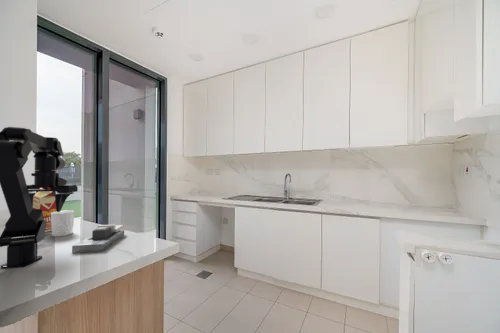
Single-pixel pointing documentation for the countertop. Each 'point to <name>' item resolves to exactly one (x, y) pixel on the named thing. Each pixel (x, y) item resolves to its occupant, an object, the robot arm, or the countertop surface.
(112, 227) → the panel
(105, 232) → the plug
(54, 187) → the robot arm
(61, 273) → the countertop surface
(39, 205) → the milk carton
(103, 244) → the socket plate
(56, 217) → the white cup
